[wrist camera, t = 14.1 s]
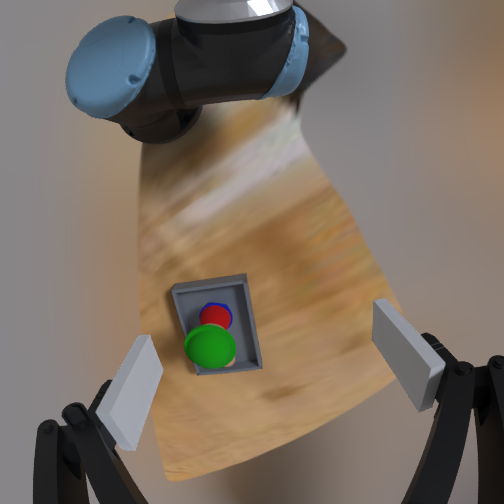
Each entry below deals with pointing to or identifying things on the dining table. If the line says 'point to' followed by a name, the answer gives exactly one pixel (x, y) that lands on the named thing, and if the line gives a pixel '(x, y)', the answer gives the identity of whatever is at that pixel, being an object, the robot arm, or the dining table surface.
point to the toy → (211, 338)
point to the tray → (239, 302)
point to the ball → (230, 363)
